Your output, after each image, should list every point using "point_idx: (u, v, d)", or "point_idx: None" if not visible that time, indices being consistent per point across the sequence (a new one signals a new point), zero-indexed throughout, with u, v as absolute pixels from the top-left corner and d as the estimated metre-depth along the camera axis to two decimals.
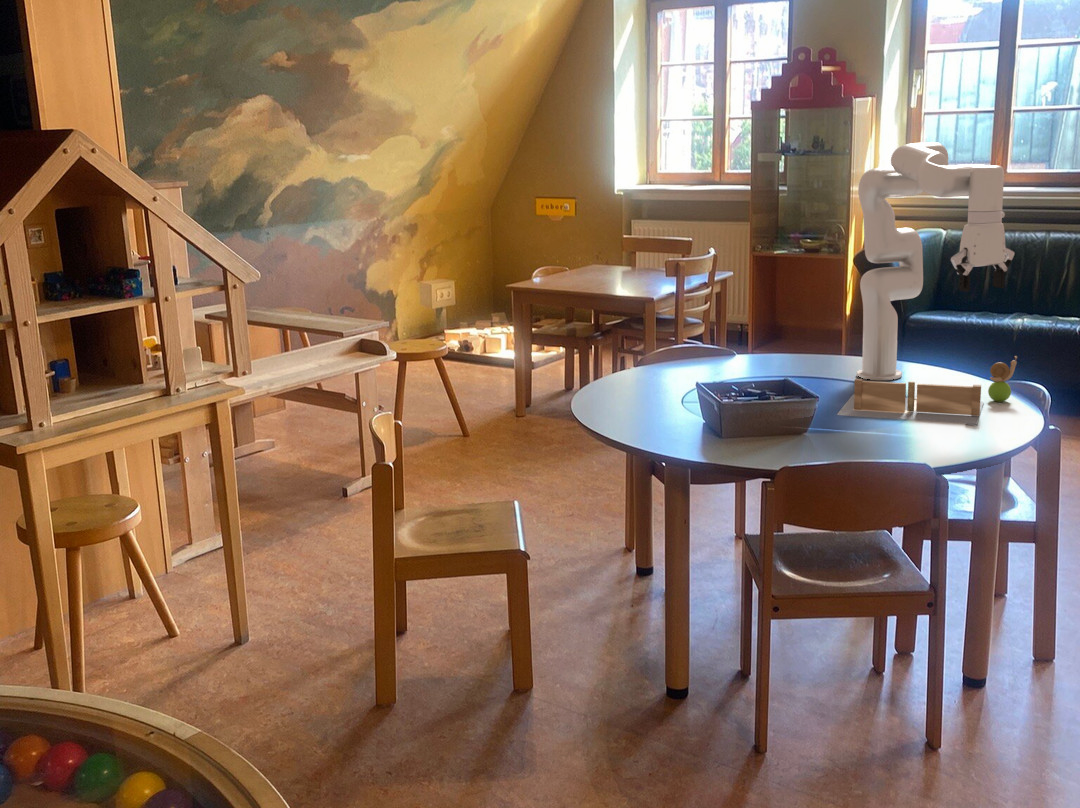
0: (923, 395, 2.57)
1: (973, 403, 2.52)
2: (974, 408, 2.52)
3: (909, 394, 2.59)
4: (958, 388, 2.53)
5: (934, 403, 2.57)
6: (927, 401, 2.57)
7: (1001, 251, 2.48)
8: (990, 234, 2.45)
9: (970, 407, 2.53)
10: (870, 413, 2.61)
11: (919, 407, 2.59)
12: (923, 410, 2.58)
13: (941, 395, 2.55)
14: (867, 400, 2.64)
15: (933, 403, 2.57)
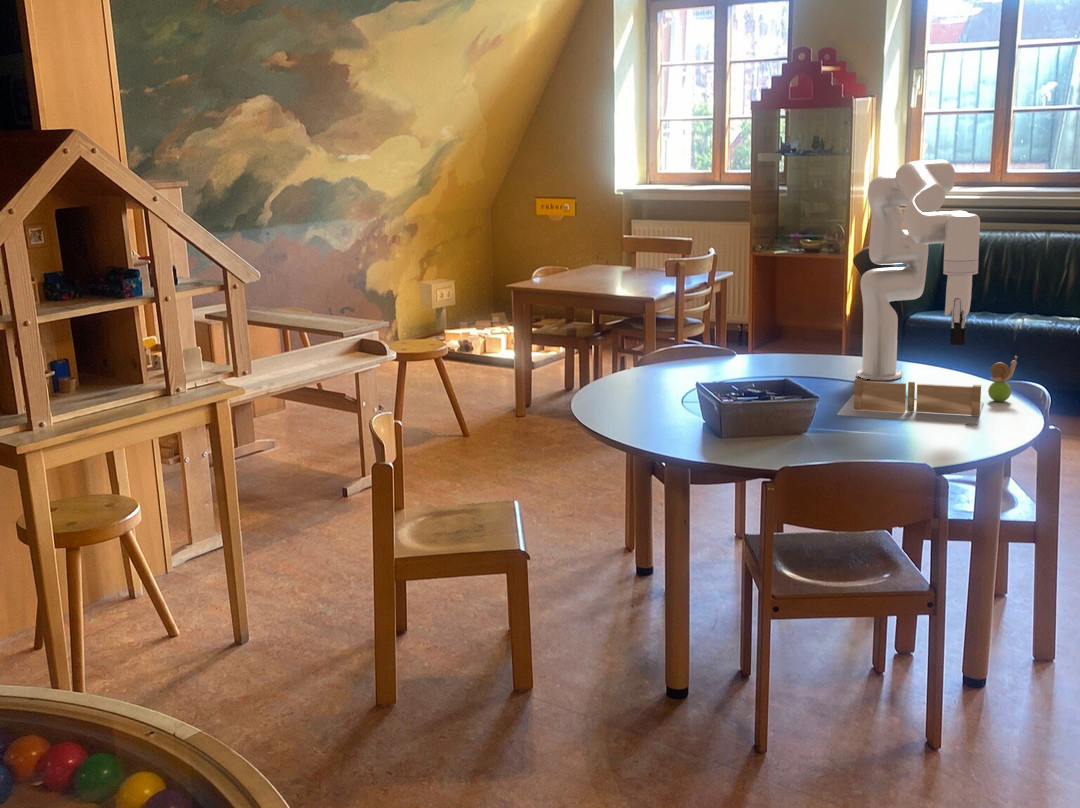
0: (923, 395, 2.57)
1: (973, 403, 2.52)
2: (974, 408, 2.52)
3: (909, 394, 2.59)
4: (958, 388, 2.53)
5: (934, 403, 2.57)
6: (927, 401, 2.57)
7: None
8: (971, 283, 2.41)
9: (970, 407, 2.53)
10: (870, 413, 2.61)
11: (919, 407, 2.59)
12: (923, 410, 2.58)
13: (941, 395, 2.55)
14: (867, 400, 2.64)
15: (933, 403, 2.57)
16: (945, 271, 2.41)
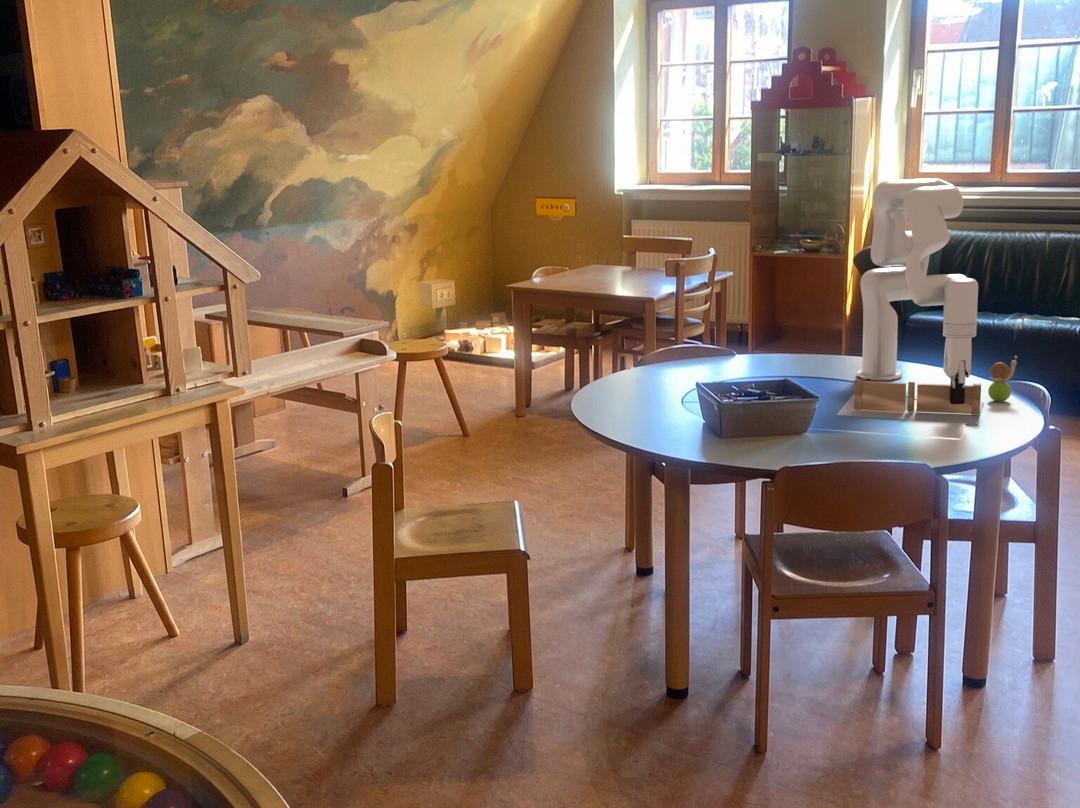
0: (923, 395, 2.58)
1: (974, 402, 2.53)
2: (975, 407, 2.53)
3: (909, 394, 2.59)
4: None
5: (934, 402, 2.57)
6: (927, 401, 2.58)
7: None
8: None
9: (970, 406, 2.54)
10: (870, 413, 2.61)
11: (919, 407, 2.59)
12: (923, 410, 2.58)
13: (941, 394, 2.56)
14: (867, 400, 2.64)
15: (933, 402, 2.57)
16: (947, 334, 2.47)
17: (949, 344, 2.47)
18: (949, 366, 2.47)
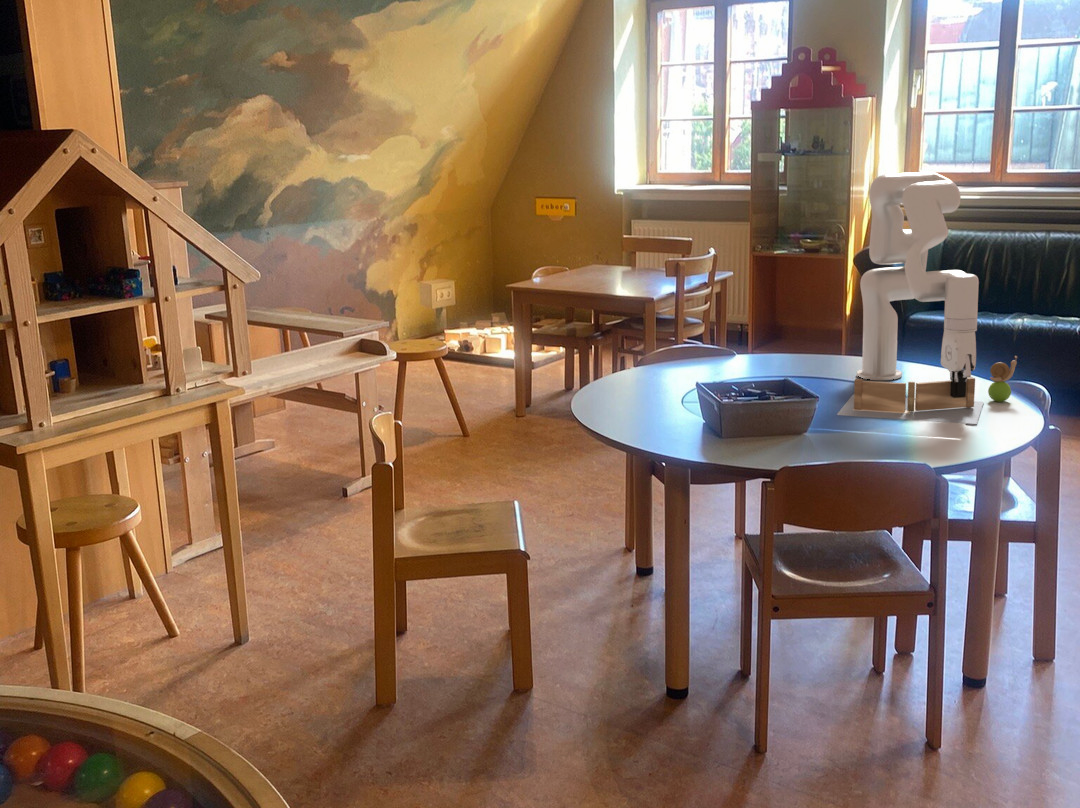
0: (923, 394, 2.59)
1: (968, 395, 2.60)
2: (969, 400, 2.60)
3: (911, 394, 2.58)
4: None
5: (933, 400, 2.59)
6: (927, 399, 2.59)
7: None
8: None
9: (965, 399, 2.60)
10: (870, 413, 2.61)
11: (919, 406, 2.60)
12: (923, 408, 2.60)
13: (939, 391, 2.59)
14: (867, 400, 2.64)
15: (932, 400, 2.59)
16: (951, 329, 2.51)
17: (954, 339, 2.51)
18: (955, 360, 2.51)
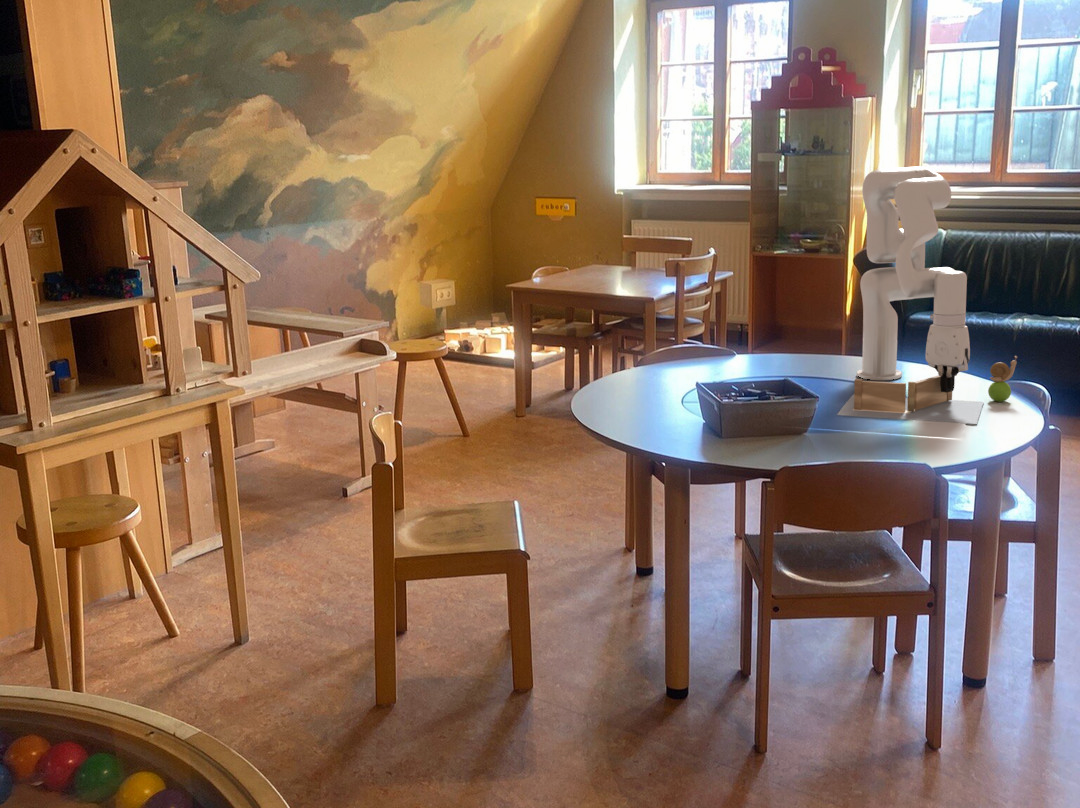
0: (920, 392, 2.60)
1: None
2: (949, 393, 2.67)
3: (912, 394, 2.58)
4: (940, 378, 2.64)
5: (926, 397, 2.62)
6: (922, 397, 2.61)
7: None
8: None
9: (946, 393, 2.67)
10: (870, 413, 2.61)
11: (918, 405, 2.61)
12: (920, 407, 2.61)
13: (930, 388, 2.63)
14: (867, 400, 2.64)
15: (926, 397, 2.62)
16: (948, 325, 2.55)
17: (951, 334, 2.56)
18: (955, 355, 2.56)
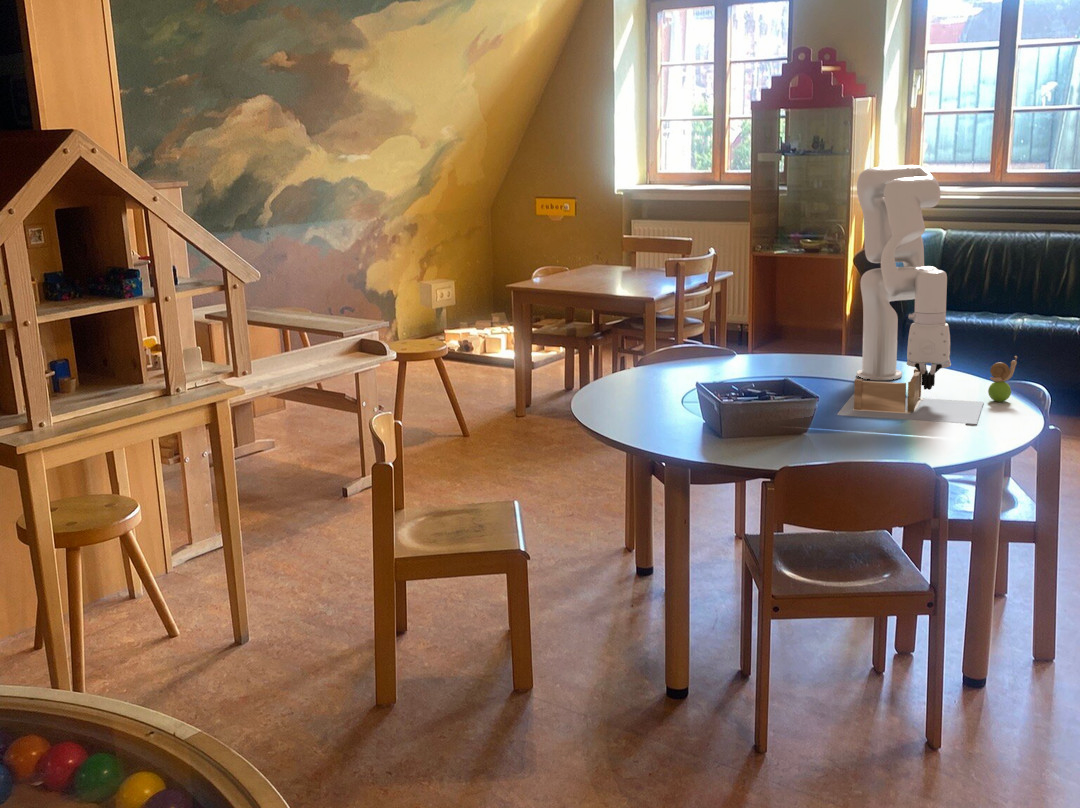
0: (915, 391, 2.62)
1: (920, 385, 2.72)
2: (920, 390, 2.72)
3: (914, 394, 2.59)
4: (918, 375, 2.68)
5: (915, 396, 2.64)
6: (915, 396, 2.63)
7: None
8: None
9: (919, 390, 2.72)
10: (870, 413, 2.61)
11: (914, 404, 2.62)
12: (914, 406, 2.63)
13: (916, 386, 2.65)
14: (867, 400, 2.64)
15: (915, 396, 2.64)
16: (936, 323, 2.59)
17: (938, 332, 2.60)
18: (943, 352, 2.61)
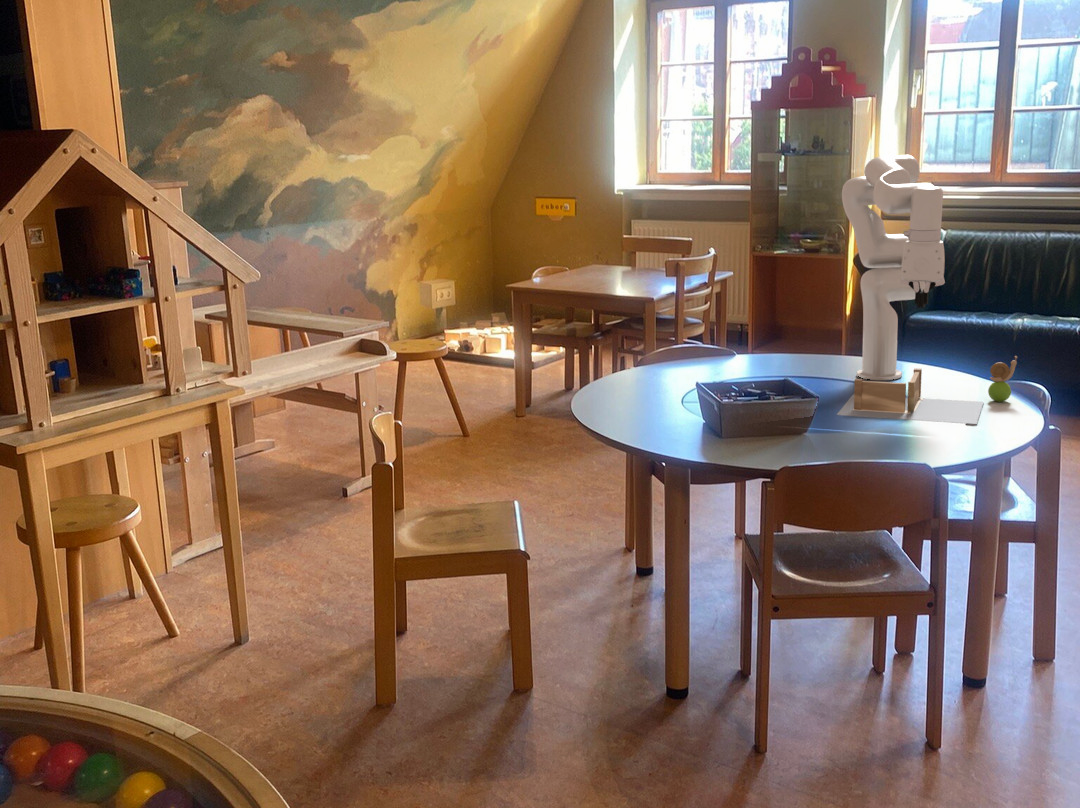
0: None
1: (920, 385, 2.72)
2: (920, 390, 2.72)
3: (914, 394, 2.59)
4: (918, 375, 2.68)
5: (915, 396, 2.64)
6: (915, 396, 2.63)
7: None
8: None
9: (919, 390, 2.72)
10: (870, 413, 2.61)
11: (914, 404, 2.62)
12: (914, 406, 2.63)
13: (916, 386, 2.65)
14: (867, 400, 2.64)
15: (915, 396, 2.64)
16: (931, 240, 2.58)
17: (933, 250, 2.59)
18: (937, 270, 2.60)
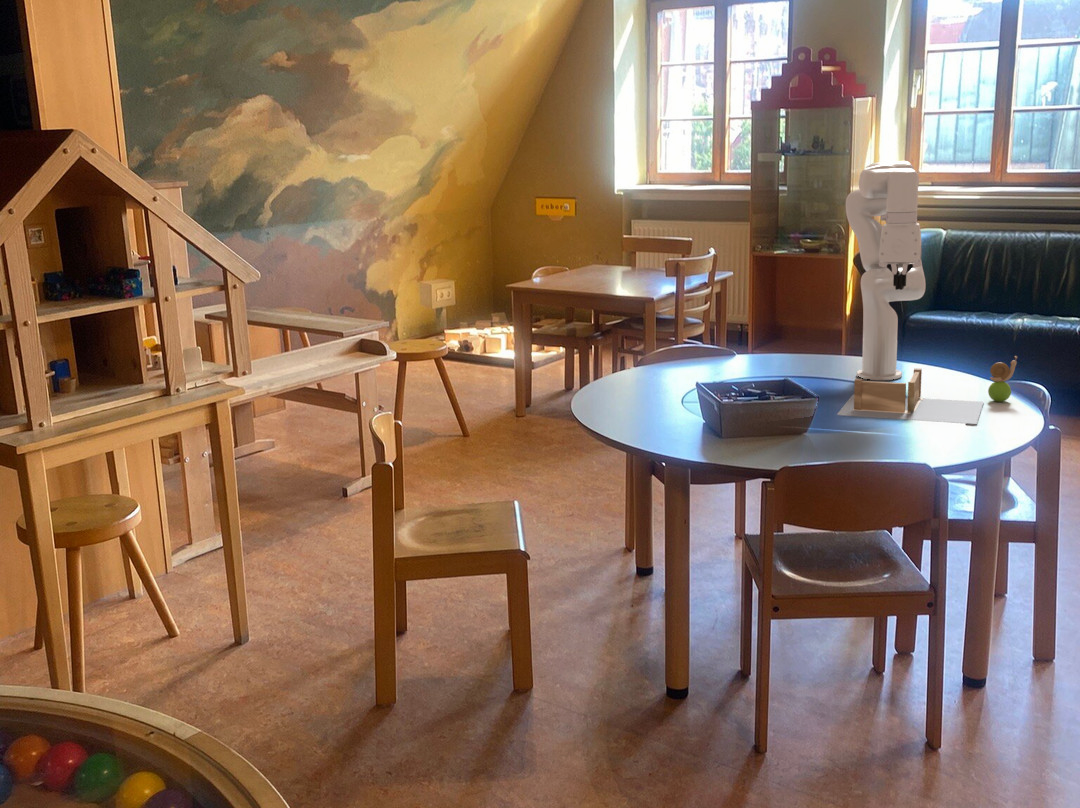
0: None
1: (920, 385, 2.72)
2: (920, 390, 2.72)
3: (914, 394, 2.59)
4: (918, 375, 2.68)
5: (915, 396, 2.64)
6: (915, 396, 2.63)
7: None
8: None
9: (919, 390, 2.72)
10: (870, 413, 2.61)
11: (914, 404, 2.62)
12: (914, 406, 2.63)
13: (916, 386, 2.65)
14: (867, 400, 2.64)
15: (915, 396, 2.64)
16: (907, 222, 2.64)
17: (910, 231, 2.64)
18: (914, 251, 2.65)
